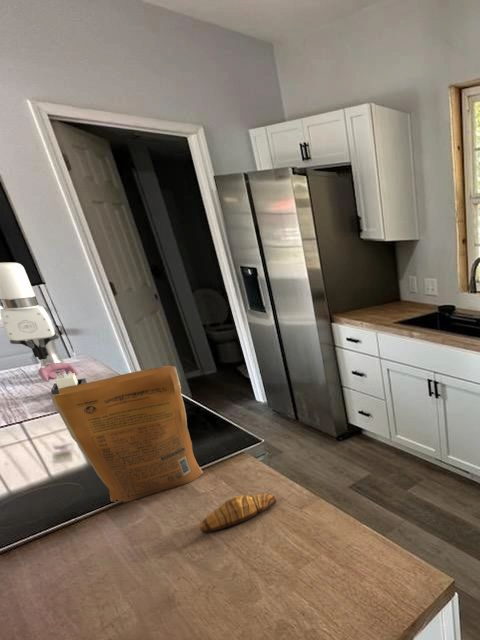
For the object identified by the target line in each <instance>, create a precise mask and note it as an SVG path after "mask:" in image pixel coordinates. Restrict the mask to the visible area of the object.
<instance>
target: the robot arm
mask: <svg viewBox="0 0 480 640" xmlns="http://www.w3.org/2000/svg"><path fill="white" fill-rule="evenodd" d="M0 307H2V308H1V309H0V317H1V322H2V326H3V328H4V331H5V333H6V336H7V338H8V340H9V343H10V344H11V345H22V346H25V347H27V348H29V349H31V351H32V354H33V355H34V358H37V359H38V361H40V360H42V359H46V358H47V356H49V353H48V351H47V349H46V345H47V343H48V342H49V341H52V340H54V341H55V340H58V339H59V338H60V336H59V335H58V333H57V332H56V327H55V326H54V323H53V321H52V319H51V317H50V316H49V314H48V312H47V311H46V309H45V308H44V306H43V305H40V304H39V301H38V299H37V297H36V294H35V292H34V290H33V286H32V284H31V282H30V279H29V277H28V274H27V272H26V269H25V267H24V266H23V265H22V264H21V263H19V262H0ZM32 339H38V340H39V347H38V346H37V345H36V344H35V343H34V341H33V340H32Z"/></svg>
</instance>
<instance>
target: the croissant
mask: <svg viewBox="0 0 480 640" xmlns="http://www.w3.org/2000/svg"><path fill="white" fill-rule="evenodd" d="M276 503H277V497H276V496H275V495H274V494H269V493H259V494H250V495H246V494H241V495H237V496H233V497H231V498H229V499H228V500H226V501H224V502H223V504H222V505H221V506H219V507H218V508H216V509H215V510H214V511H212V512H211V513H209V515H207V516H206V517H205V518H204V519H203V520H202V522H200V523H199V531H201V532H202V534H205V533H212V532H215V531H216V532H217V531H220V530H224V529H226V528H229V527H231V526H235V525H238V524H241V523H244V522H246V521H248V520H250V519H251V518H253V517H255V516H257V515H259V514H261V513H263V512H265V511H266V510H268V509H270V508H271V507H272V506H274V505H275V504H276Z"/></svg>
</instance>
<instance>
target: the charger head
mask: <svg viewBox="0 0 480 640" xmlns="http://www.w3.org/2000/svg"><path fill="white" fill-rule="evenodd" d="M54 383H56V384H57V386H58V389H60V388H64V387H68V386H73V385H79V383H78V378H77V375H75V373H72V372H71V373H68V374H66V373H65V372H63V373H62V375H60V374H59V375H57V377H56V378H54Z"/></svg>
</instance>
